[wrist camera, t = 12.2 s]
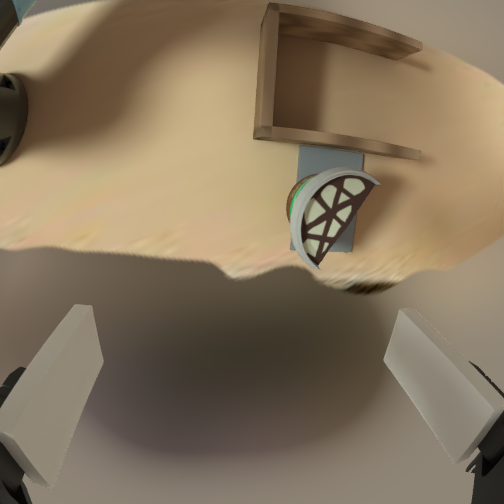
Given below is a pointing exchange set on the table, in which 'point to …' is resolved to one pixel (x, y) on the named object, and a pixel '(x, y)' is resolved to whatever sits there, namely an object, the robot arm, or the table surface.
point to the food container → (325, 209)
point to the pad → (318, 162)
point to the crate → (331, 31)
